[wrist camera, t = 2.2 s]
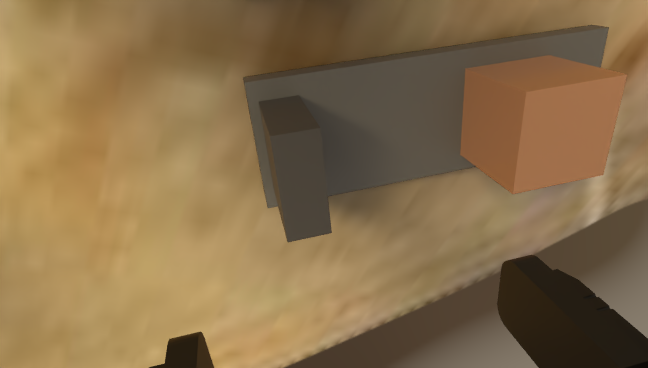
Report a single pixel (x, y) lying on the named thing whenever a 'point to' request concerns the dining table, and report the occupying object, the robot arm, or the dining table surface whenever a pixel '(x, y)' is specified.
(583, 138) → the block
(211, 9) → the dining table surface
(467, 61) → the strip
